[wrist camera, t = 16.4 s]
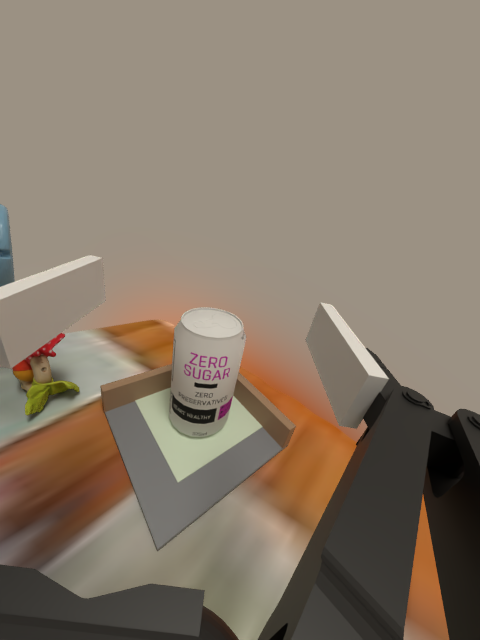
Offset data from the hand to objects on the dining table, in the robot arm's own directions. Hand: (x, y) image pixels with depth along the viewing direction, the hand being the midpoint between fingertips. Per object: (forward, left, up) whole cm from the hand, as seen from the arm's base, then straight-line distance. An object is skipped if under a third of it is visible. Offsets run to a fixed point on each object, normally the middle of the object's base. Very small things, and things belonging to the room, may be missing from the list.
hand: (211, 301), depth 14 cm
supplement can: (-8, +6, -22) cm, 24 cm away
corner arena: (-7, +5, -22) cm, 24 cm away
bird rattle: (-22, -10, -22) cm, 33 cm away
